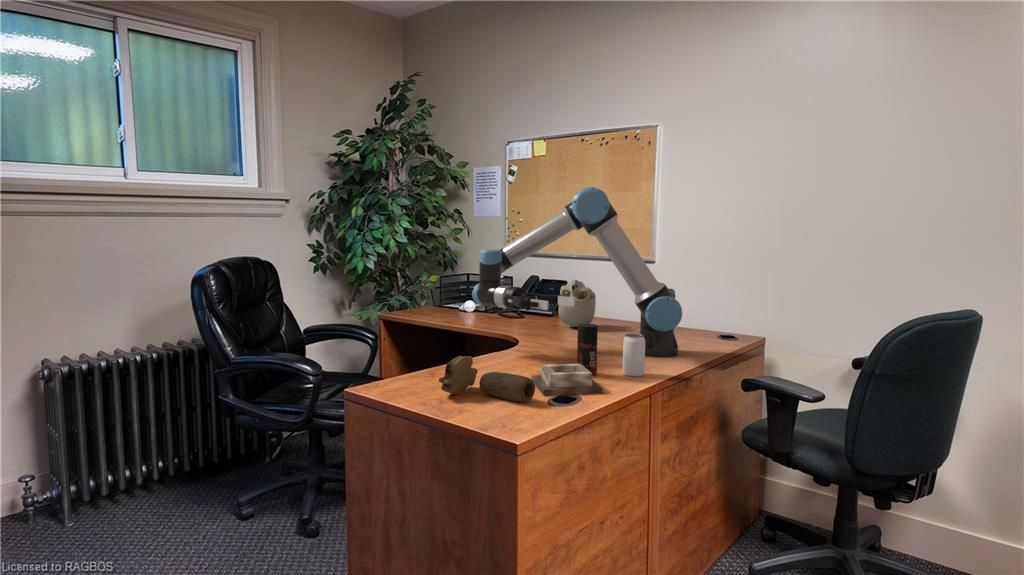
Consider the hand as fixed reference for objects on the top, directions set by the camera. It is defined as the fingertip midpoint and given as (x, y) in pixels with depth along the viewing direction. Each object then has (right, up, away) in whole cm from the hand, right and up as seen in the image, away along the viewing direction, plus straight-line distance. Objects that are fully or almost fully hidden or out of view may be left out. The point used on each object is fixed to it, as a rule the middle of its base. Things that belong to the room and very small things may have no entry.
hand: (561, 303), depth 188 cm
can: (+21, -21, -4) cm, 31 cm away
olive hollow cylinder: (-17, -24, -30) cm, 42 cm away
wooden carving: (-30, -23, -26) cm, 46 cm away
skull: (+13, -13, +80) cm, 82 cm away
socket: (-1, -22, -19) cm, 29 cm away
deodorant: (+7, -21, -4) cm, 23 cm away
